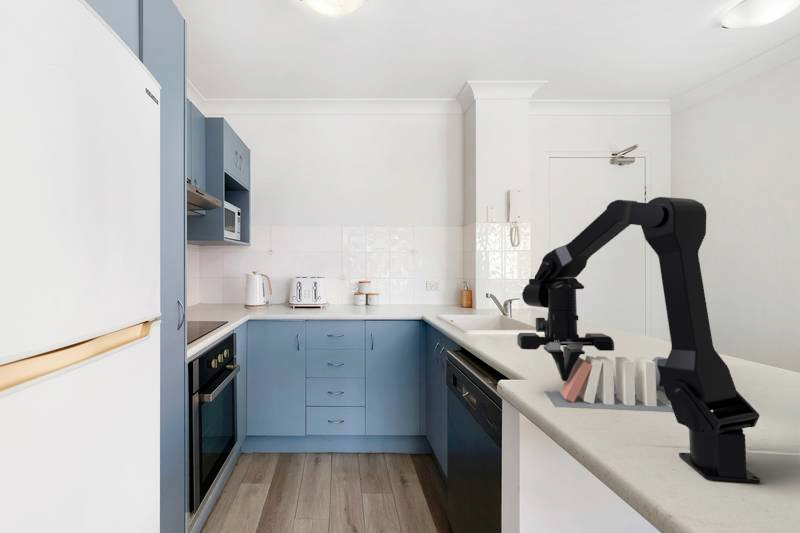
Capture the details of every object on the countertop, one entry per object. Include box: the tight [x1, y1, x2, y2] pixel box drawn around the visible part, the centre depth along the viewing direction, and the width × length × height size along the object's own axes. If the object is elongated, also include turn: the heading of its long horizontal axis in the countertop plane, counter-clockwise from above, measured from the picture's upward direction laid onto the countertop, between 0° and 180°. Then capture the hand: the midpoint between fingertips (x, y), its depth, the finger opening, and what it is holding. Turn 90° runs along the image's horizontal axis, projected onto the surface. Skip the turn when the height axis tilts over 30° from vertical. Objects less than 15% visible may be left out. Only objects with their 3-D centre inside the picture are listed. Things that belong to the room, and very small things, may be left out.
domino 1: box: [559, 357, 592, 403], centre depth 78 cm, size 4×2×9 cm, turn 170°
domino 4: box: [615, 356, 636, 406], centre depth 76 cm, size 4×2×9 cm, turn 170°
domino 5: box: [634, 356, 657, 406], centre depth 76 cm, size 4×2×9 cm, turn 170°
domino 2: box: [578, 355, 602, 404], centre depth 78 cm, size 4×2×9 cm, turn 170°
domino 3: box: [595, 355, 615, 405], centre depth 77 cm, size 4×2×9 cm, turn 170°
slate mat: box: [543, 390, 674, 413], centre depth 77 cm, size 10×23×1 cm, turn 80°
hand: (564, 380), depth 78 cm, fingers closed
